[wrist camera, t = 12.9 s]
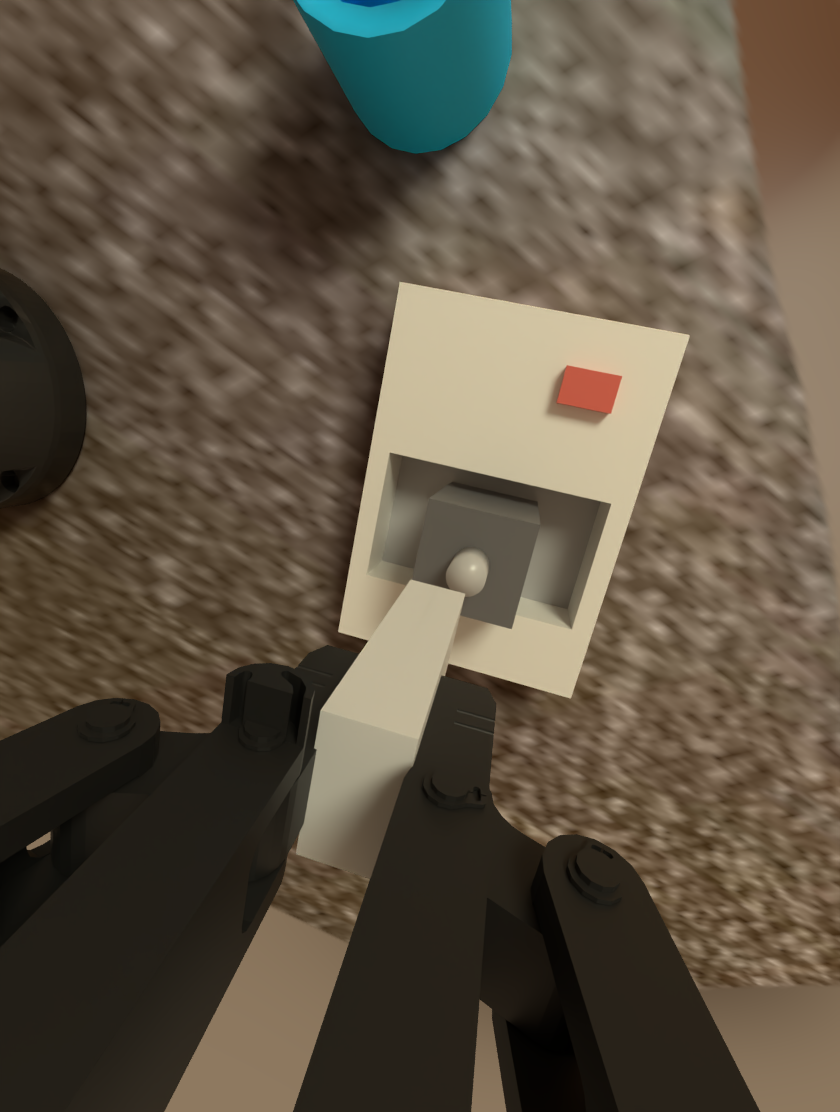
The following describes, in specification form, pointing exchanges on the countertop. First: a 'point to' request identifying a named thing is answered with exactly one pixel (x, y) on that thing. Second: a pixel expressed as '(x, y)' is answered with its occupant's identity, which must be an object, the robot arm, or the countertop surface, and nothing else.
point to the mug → (415, 63)
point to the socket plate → (511, 462)
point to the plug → (478, 549)
